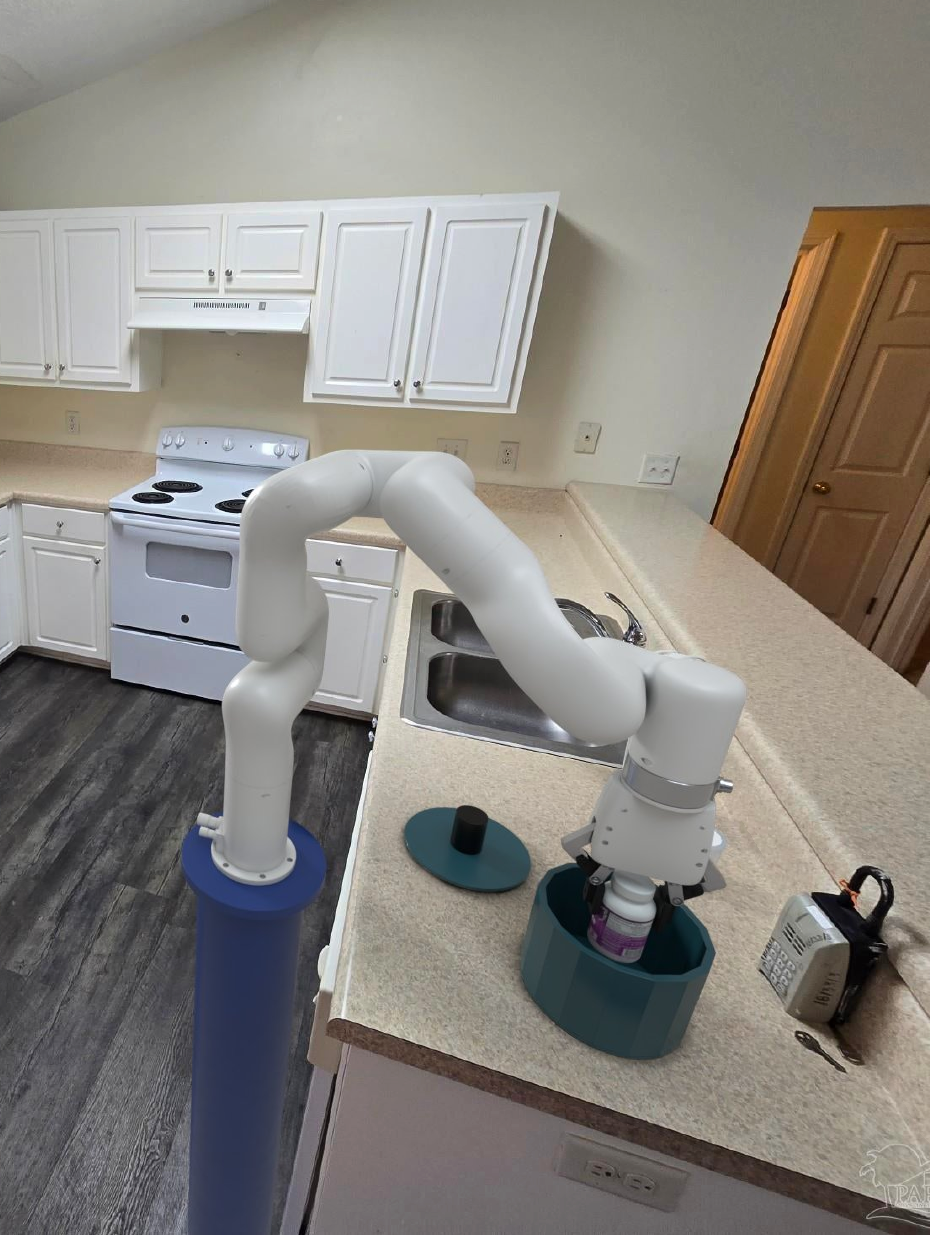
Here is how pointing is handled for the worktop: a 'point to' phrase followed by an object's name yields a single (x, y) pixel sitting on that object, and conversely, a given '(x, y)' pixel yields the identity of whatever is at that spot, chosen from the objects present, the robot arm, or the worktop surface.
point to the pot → (612, 973)
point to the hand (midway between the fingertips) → (623, 913)
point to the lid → (467, 848)
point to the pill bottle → (623, 917)
